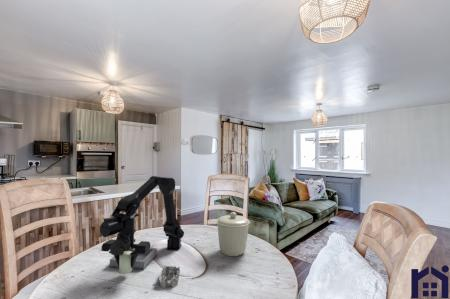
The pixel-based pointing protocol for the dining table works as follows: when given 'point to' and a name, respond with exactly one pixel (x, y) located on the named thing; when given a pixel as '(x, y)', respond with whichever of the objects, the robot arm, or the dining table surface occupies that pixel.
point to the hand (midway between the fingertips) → (125, 266)
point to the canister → (232, 234)
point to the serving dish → (138, 259)
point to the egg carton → (169, 276)
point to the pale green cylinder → (125, 263)
